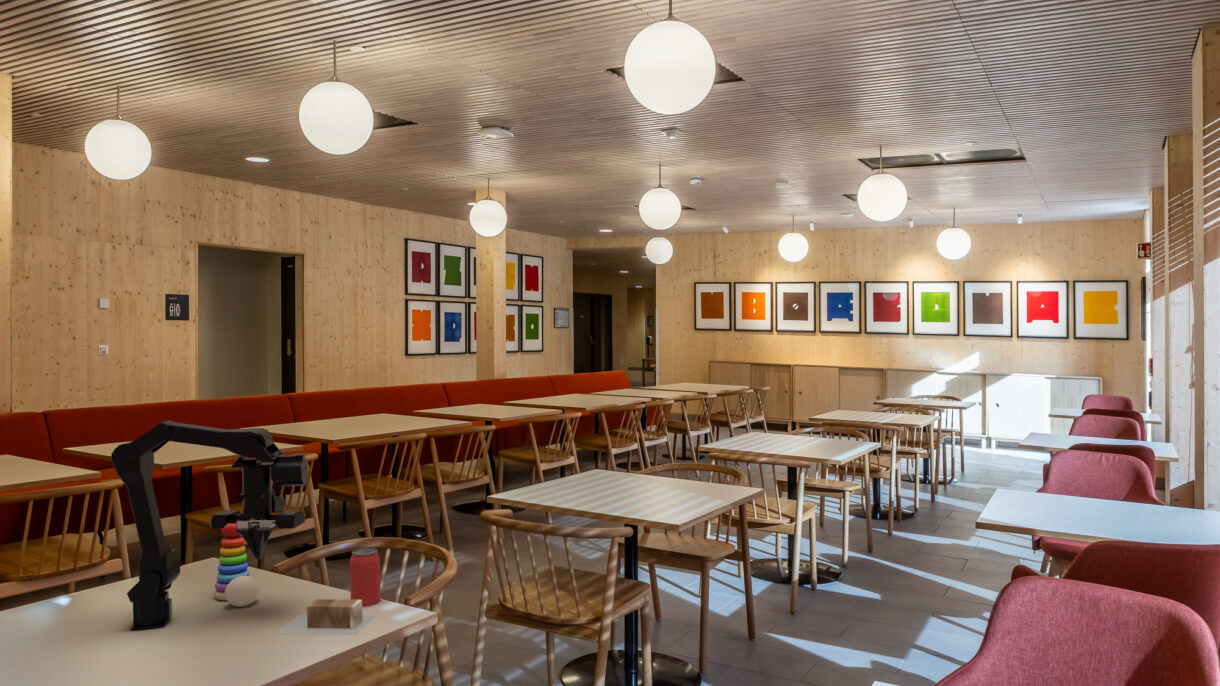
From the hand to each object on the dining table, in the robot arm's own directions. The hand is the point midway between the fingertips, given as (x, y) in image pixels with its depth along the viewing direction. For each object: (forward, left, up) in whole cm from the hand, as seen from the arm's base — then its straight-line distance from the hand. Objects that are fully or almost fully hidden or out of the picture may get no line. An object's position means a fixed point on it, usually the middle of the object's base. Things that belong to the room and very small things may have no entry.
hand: (258, 558), depth 176 cm
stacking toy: (-8, +18, -13) cm, 24 cm away
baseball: (-5, +10, -13) cm, 17 cm away
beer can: (+22, +2, -13) cm, 26 cm away
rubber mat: (+14, -10, -13) cm, 22 cm away
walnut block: (+11, -9, -10) cm, 18 cm away
